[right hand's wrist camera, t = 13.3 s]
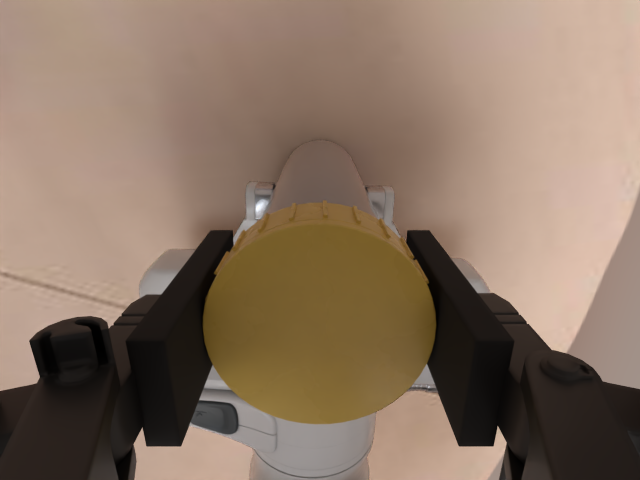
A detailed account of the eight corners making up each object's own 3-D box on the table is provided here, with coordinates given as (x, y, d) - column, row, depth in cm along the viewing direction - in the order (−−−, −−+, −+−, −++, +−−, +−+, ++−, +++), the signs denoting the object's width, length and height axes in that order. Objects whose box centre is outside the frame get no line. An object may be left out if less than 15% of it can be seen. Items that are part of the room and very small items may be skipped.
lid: (421, 374, 13) (438, 419, 11) (235, 387, 13) (221, 434, 11) (421, 190, 11) (441, 210, 9) (199, 210, 11) (175, 233, 9)
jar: (358, 208, 30) (417, 395, 12) (288, 214, 30) (238, 408, 12) (353, 136, 28) (417, 225, 10) (279, 143, 28) (204, 242, 10)
